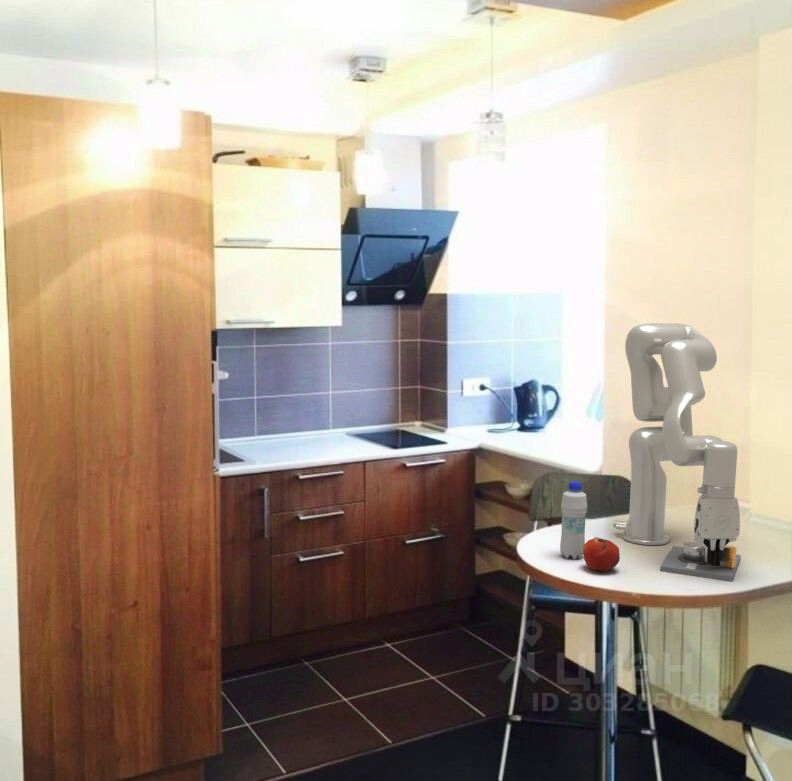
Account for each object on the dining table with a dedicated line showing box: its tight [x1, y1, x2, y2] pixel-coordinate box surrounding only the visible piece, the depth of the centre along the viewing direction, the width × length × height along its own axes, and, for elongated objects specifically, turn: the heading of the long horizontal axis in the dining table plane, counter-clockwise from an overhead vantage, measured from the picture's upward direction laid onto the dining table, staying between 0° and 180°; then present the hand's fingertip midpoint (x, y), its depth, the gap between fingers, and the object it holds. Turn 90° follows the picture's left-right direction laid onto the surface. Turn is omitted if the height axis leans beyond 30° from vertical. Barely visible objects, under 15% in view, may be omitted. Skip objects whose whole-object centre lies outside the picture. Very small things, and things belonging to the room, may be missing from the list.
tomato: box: [583, 536, 621, 572], centre depth 228 cm, size 9×9×8 cm
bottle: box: [559, 480, 588, 560], centre depth 237 cm, size 7×7×20 cm
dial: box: [683, 541, 737, 568], centre depth 231 cm, size 13×6×5 cm, turn 46°
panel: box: [659, 545, 742, 582], centre depth 233 cm, size 17×20×2 cm
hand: (713, 564), depth 227 cm, fingers closed
